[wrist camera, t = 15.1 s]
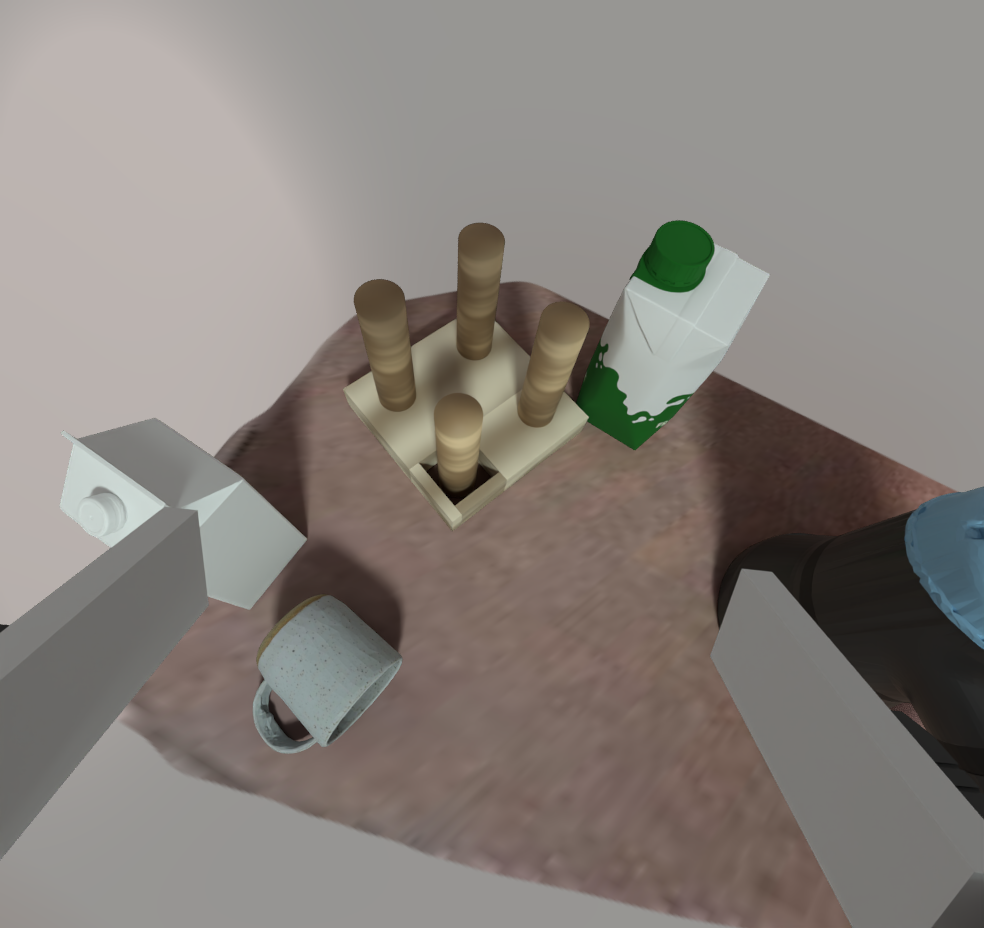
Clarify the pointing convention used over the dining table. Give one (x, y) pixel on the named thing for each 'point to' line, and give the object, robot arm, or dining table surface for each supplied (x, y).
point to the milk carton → (179, 504)
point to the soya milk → (667, 332)
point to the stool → (468, 377)
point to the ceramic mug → (321, 671)
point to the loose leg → (458, 442)
